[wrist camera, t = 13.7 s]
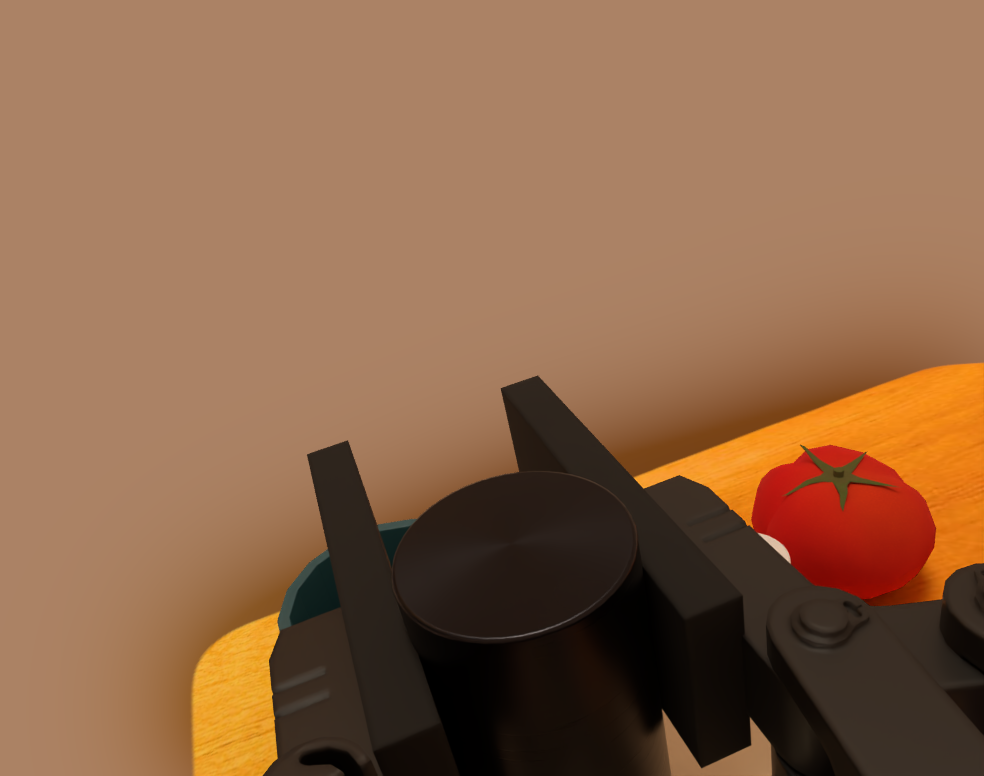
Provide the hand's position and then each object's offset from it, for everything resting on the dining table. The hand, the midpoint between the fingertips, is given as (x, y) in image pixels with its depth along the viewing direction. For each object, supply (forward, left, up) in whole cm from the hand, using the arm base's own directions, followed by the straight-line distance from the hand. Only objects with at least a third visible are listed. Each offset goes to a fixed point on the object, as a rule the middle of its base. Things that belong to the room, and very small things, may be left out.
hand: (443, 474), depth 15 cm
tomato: (+7, +30, -30) cm, 43 cm away
